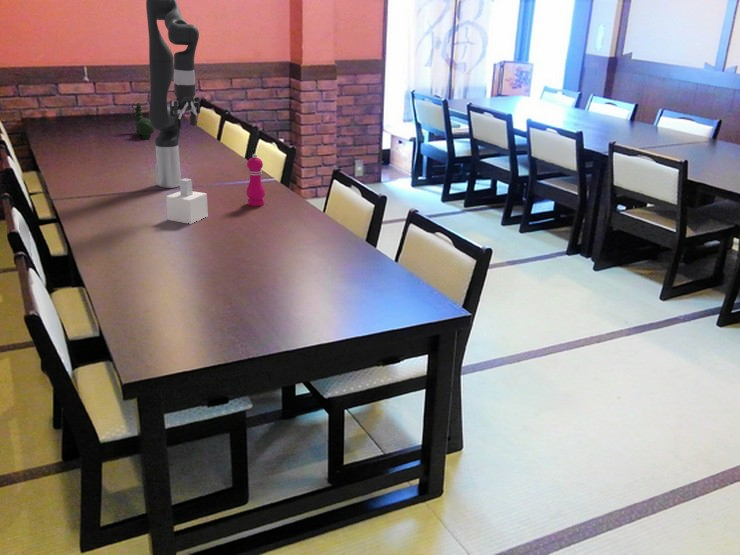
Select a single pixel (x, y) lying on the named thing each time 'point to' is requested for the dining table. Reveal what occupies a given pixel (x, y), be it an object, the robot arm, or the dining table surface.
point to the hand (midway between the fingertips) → (185, 127)
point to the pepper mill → (255, 182)
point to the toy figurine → (142, 124)
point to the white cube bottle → (187, 204)
